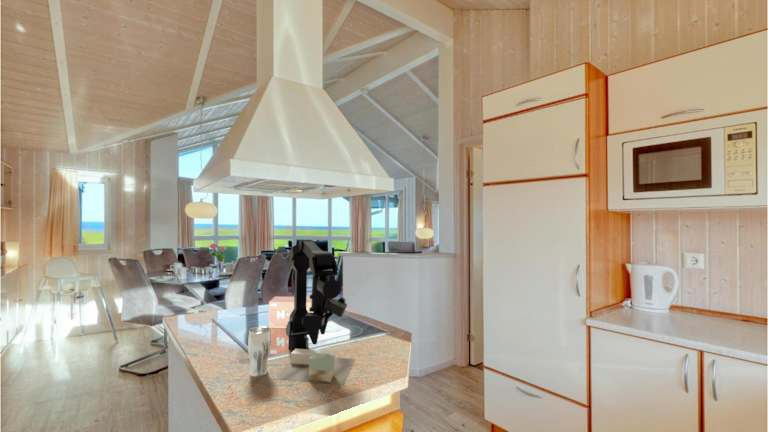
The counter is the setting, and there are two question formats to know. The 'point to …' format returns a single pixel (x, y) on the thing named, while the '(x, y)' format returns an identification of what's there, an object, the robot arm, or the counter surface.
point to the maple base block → (321, 375)
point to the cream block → (301, 356)
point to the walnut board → (302, 372)
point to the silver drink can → (259, 350)
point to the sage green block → (321, 361)
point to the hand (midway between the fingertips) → (318, 338)
